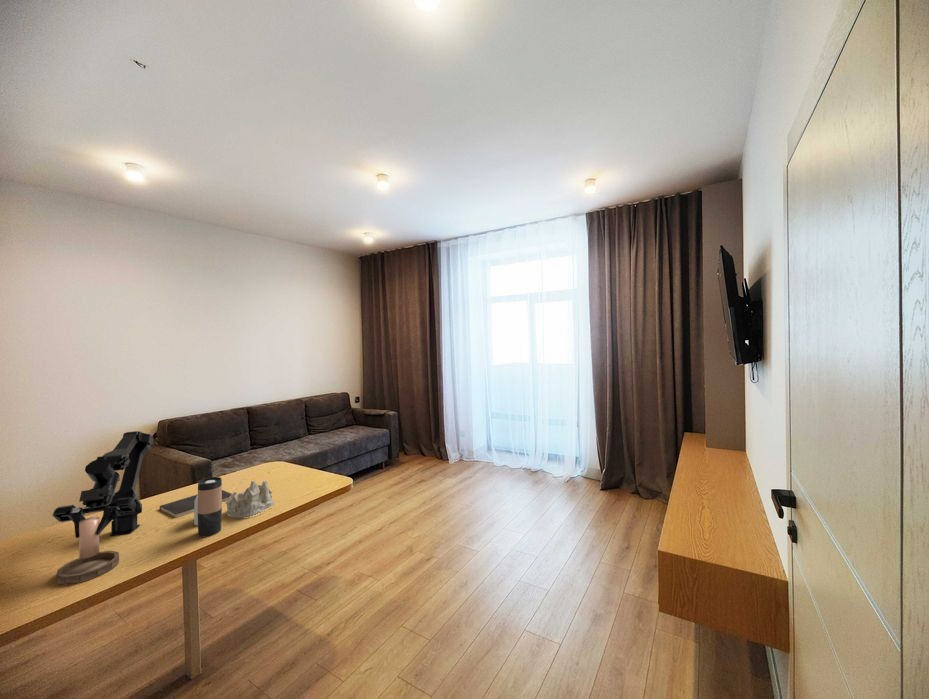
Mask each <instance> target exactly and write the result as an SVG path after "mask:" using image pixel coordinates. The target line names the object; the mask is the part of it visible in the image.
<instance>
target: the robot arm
mask: <svg viewBox="0 0 929 699" xmlns="http://www.w3.org/2000/svg"><path fill="white" fill-rule="evenodd" d="M153 444H154V436H153V435H152V434H150V433H145V432H143V431H140V430H139V431H138V430H137V431H136V430H135V431H126V432H124V433H123V435H122V438H121V440H119V441H118V443H117V445H115V447H114V448H113V450H110V451H108V452H106V453H104V454H103V455H101V456H97V458H96V459H95V460H92V461H90V462H88V464H87V465H86V466H85V468H84V471H85V473H86V474H87V476H88V477H89V479H90V480H91V481H92V482H94V484H93V486H92V488H90V489H88V490H87V489H86V490H81V492H80V496H79V501H78V502H79V503H80V502H82V506H83V507H76V506H75V504H70V505H63V506H58V507H56V508H55V509H54V511H53V512H52V515H51V516H52V517H54V518H55V520H56V521H57V522H59V523H64V522H70V521H71V522H72V523H73V524H74V536H75V538H76V539H79V522H80V521H82V520H84V519H87V518H86V517H85V514H90V513H96V512H97V513H98V512H102V516H101V519H100V520H99V526H98V528H97V532H96V534H97V535H99V536H100V534H101V533H102V532H103V531H104V529H106V527H107V526H108V525H109V524H111V527H110V529H111V533H110V534H109V536H110V537H111V536H120V535H127V534H131V533H133V532H135V530H137V529H138V528H139V527H140V526H141V524H138V517H139V516H138V515H139V514H141V513H142V512H143V504H142V502H141V501H140V500H139V495H138V494H137V492H136V487H137V483H138V480H139V475H140V471H141V467H142V463H143V457H144V456H145V455H146V454H147V453H149V451H150V449H151V447H152V445H153ZM118 471H123V475H122V478H121V482H120V486H119V489H118V490H117V491H116V488H117V486H118V483H119V481H120V474H119V472H118Z"/></svg>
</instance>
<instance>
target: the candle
mask: <svg viewBox="0 0 929 699" xmlns="http://www.w3.org/2000/svg"><path fill="white" fill-rule="evenodd" d="M99 524H100V517H99V516H93V517H88V518H86V519H84V520H82V521H80V522H79V538H78V540H79V541H78V549H79V550H78V555H79V556H78V558H80V559H84V558H89V557H92V556H94V555H96V554H98V553H99V552H100V534H99V535H97V534H96V532H97V528H98V526H99Z"/></svg>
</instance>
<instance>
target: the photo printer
mask: <svg viewBox="0 0 929 699" xmlns="http://www.w3.org/2000/svg"><path fill="white" fill-rule="evenodd" d="M197 511H198V496H197V497H196V499H195V506H194V512H193V513H194V514H193V515H194V516H193V518H194V522H193V523H194V525H195V526H198V514H197Z"/></svg>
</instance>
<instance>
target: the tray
mask: <svg viewBox="0 0 929 699" xmlns="http://www.w3.org/2000/svg"><path fill="white" fill-rule="evenodd" d="M119 562H120V552H119V551H115V550H104V551H99V553H98V554H96V555H94V556H92V557H89V558H84V559H80V558H79V557H78V558H75V559H73V560H71V561H69V562H67V563H65V564H64V565H62V566H61V567H59V568H58V569H57V570H56V574H55V575H56V577H55V580H56V583H57V584H58V585H64V584H67V585H74V584H79V583H83V582H87V581H90V580H93V579H95V578H98V577H101V576H103V575H104V574H106V573H108V572H110V571H112V570H114V568H116V567H117V566H118V565H119Z"/></svg>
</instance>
